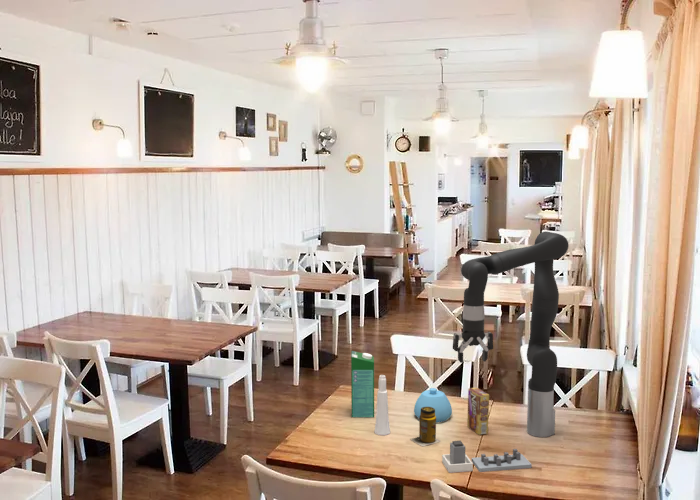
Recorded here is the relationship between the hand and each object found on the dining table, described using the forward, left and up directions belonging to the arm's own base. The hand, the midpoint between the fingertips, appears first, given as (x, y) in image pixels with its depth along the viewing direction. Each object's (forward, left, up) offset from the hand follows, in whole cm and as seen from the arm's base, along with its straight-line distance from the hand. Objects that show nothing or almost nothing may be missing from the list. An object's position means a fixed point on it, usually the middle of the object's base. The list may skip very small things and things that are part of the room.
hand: (472, 361), depth 239 cm
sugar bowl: (+7, -26, -30) cm, 41 cm away
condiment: (+16, -4, -30) cm, 35 cm away
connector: (+11, +18, -30) cm, 36 cm away
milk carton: (+34, -34, -30) cm, 57 cm away
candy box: (-6, -10, -30) cm, 32 cm away
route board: (-4, +19, -30) cm, 36 cm away
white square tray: (+11, +18, -30) cm, 37 cm away
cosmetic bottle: (+30, -14, -30) cm, 45 cm away
